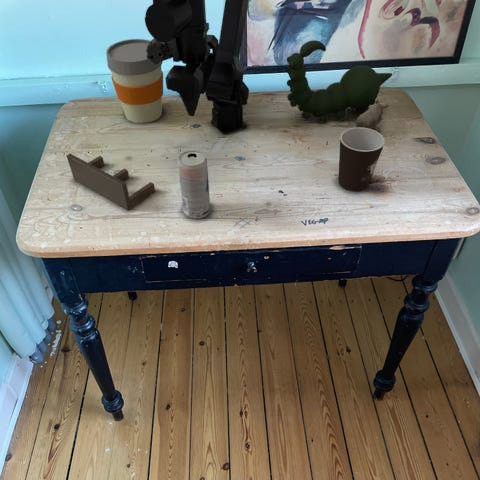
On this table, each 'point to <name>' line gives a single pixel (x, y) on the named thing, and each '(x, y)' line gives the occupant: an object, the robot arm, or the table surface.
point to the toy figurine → (332, 87)
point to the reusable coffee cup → (136, 80)
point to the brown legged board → (107, 182)
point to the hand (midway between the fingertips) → (196, 104)
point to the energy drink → (194, 183)
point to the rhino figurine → (371, 116)
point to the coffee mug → (358, 157)
